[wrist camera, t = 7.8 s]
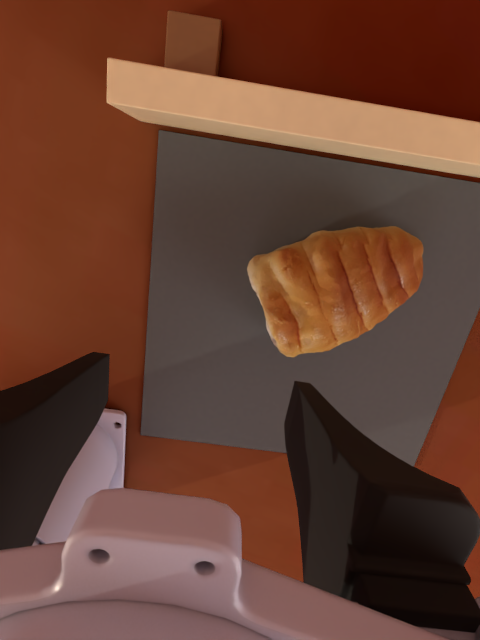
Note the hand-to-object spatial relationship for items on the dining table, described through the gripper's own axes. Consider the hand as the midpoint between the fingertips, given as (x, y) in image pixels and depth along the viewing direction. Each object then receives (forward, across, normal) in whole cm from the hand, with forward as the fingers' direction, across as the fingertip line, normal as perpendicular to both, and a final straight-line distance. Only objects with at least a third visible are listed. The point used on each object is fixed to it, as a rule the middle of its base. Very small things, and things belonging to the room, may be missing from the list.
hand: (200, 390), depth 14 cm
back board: (+9, -6, -12) cm, 16 cm away
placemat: (+9, -6, 0) cm, 11 cm away
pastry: (+9, -6, -3) cm, 11 cm away
